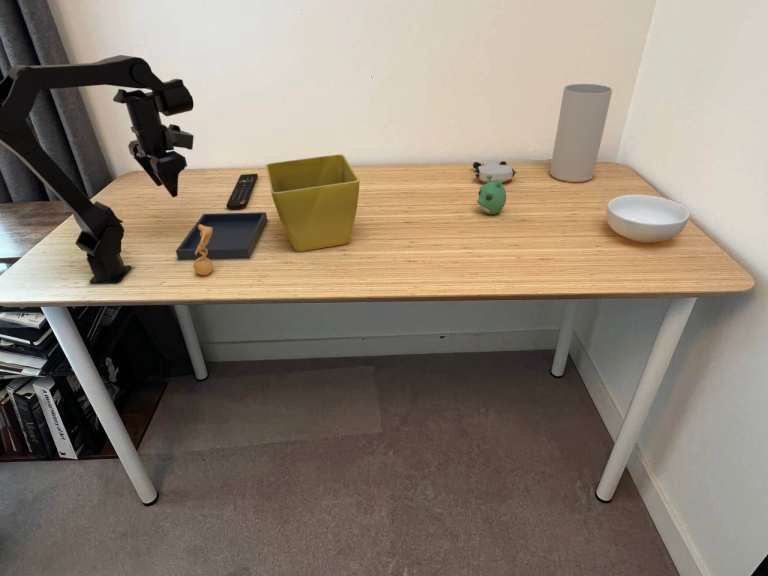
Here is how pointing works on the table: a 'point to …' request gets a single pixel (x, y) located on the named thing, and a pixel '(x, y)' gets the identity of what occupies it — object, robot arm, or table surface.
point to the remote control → (242, 191)
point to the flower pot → (315, 200)
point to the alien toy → (492, 196)
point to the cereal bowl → (646, 218)
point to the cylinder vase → (579, 131)
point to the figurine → (203, 263)
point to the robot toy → (493, 170)
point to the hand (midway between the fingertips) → (167, 191)
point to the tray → (225, 236)
